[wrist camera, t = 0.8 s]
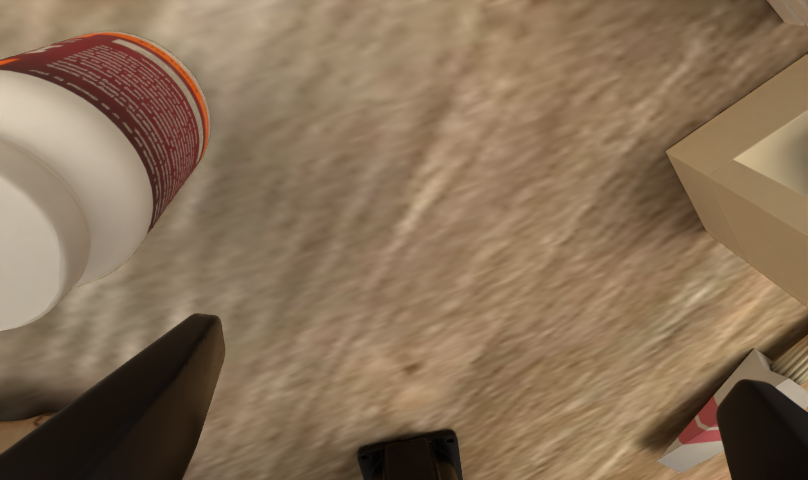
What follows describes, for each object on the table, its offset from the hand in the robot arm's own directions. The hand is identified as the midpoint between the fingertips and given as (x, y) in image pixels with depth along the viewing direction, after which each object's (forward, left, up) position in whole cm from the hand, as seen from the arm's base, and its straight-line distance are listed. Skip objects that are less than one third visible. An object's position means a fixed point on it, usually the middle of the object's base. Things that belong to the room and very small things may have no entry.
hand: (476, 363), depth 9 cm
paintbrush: (-20, -22, -15) cm, 33 cm away
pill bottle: (+2, +10, -15) cm, 18 cm away
